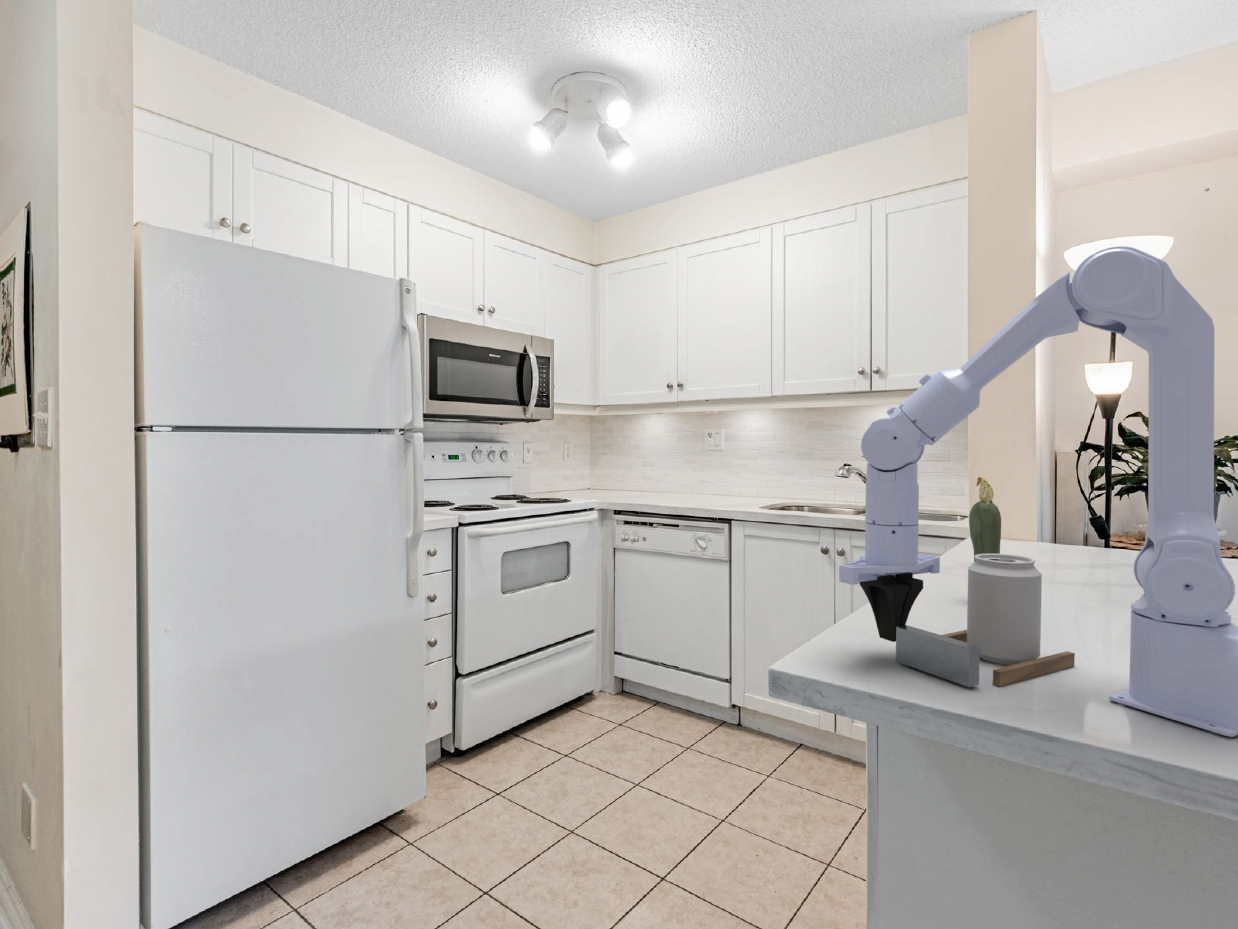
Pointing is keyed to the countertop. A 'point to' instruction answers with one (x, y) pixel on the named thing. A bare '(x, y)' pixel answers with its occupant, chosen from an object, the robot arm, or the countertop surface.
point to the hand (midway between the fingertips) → (890, 639)
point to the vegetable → (985, 522)
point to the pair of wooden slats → (1025, 665)
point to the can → (1004, 608)
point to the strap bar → (938, 655)
